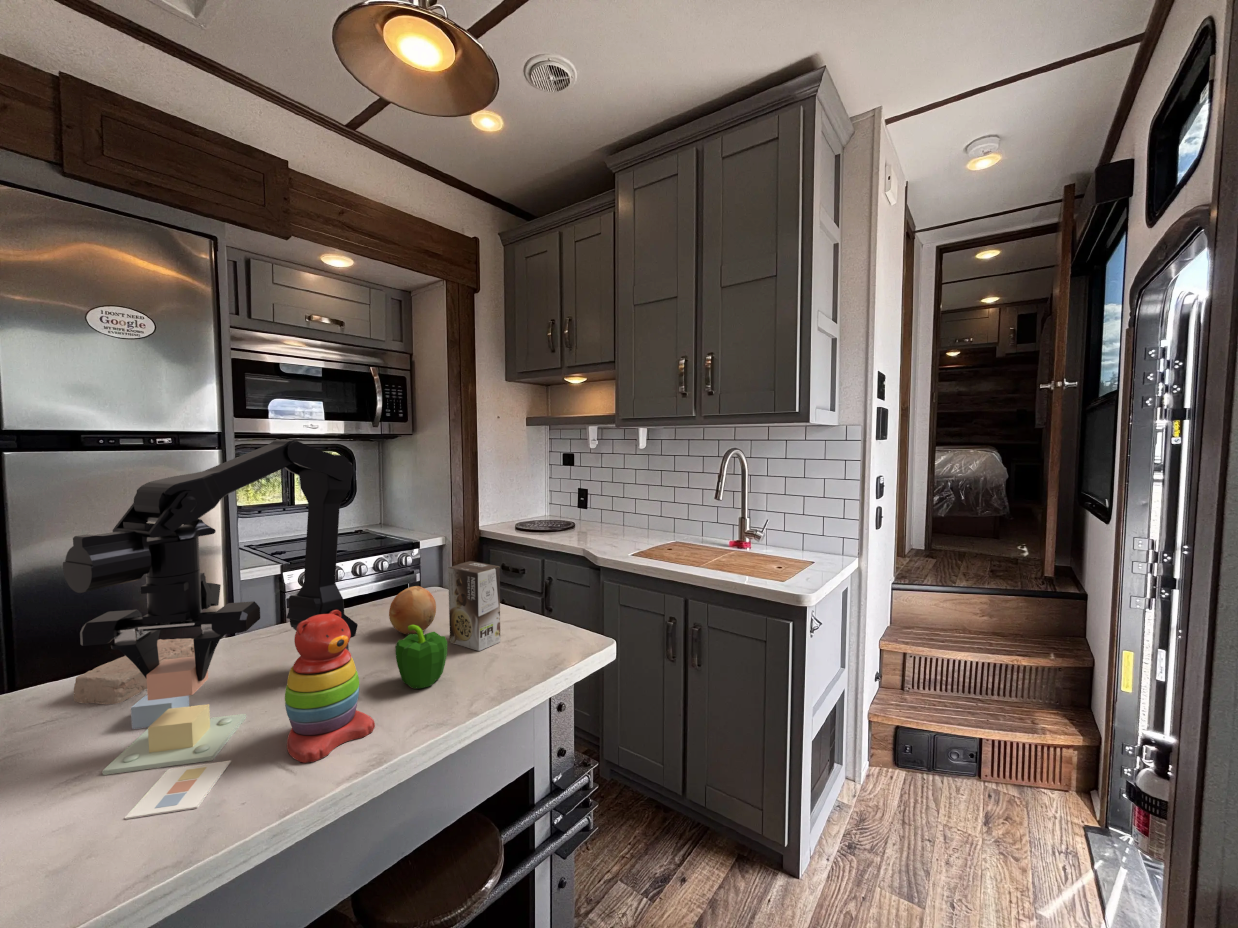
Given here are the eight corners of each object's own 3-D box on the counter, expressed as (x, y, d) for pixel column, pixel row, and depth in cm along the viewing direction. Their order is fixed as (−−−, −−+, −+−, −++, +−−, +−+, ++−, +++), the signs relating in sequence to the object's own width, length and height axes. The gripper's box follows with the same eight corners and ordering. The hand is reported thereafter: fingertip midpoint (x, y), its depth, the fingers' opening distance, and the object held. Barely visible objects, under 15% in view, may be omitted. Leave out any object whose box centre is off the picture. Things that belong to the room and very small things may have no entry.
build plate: (246, 717, 82) (245, 691, 81) (212, 760, 71) (211, 730, 71) (152, 728, 78) (151, 701, 78) (102, 775, 68) (101, 744, 68)
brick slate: (189, 708, 84) (188, 687, 84) (172, 725, 80) (171, 702, 79) (151, 712, 83) (150, 691, 83) (132, 730, 78) (130, 707, 78)
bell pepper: (456, 681, 94) (455, 626, 93) (411, 698, 88) (409, 639, 87) (432, 667, 99) (431, 614, 99) (388, 682, 93) (387, 626, 93)
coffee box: (502, 641, 112) (501, 565, 111) (478, 652, 106) (477, 572, 105) (471, 632, 116) (471, 559, 115) (447, 642, 111) (446, 566, 110)
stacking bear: (306, 767, 70) (302, 634, 68) (267, 743, 75) (263, 619, 74) (381, 728, 79) (378, 611, 78) (342, 709, 84) (339, 599, 83)
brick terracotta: (208, 678, 77) (207, 655, 77) (192, 694, 73) (191, 670, 72) (166, 683, 76) (165, 659, 76) (147, 700, 71) (146, 674, 71)
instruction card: (231, 761, 71) (231, 759, 71) (197, 807, 62) (197, 805, 62) (168, 770, 69) (168, 768, 69) (124, 819, 60) (124, 816, 60)
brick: (120, 705, 85) (119, 677, 85) (69, 704, 86) (68, 675, 85) (203, 661, 102) (203, 637, 102) (161, 660, 102) (160, 636, 102)
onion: (404, 622, 122) (403, 580, 121) (445, 625, 121) (444, 582, 120) (379, 639, 112) (378, 592, 112) (423, 642, 111) (422, 595, 110)
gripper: (271, 554, 83) (275, 651, 84) (128, 561, 78) (133, 664, 79) (242, 573, 73) (246, 684, 74) (73, 583, 68) (80, 701, 69)
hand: (179, 681), depth 74 cm, fingers closed on brick terracotta, 5 cm apart
